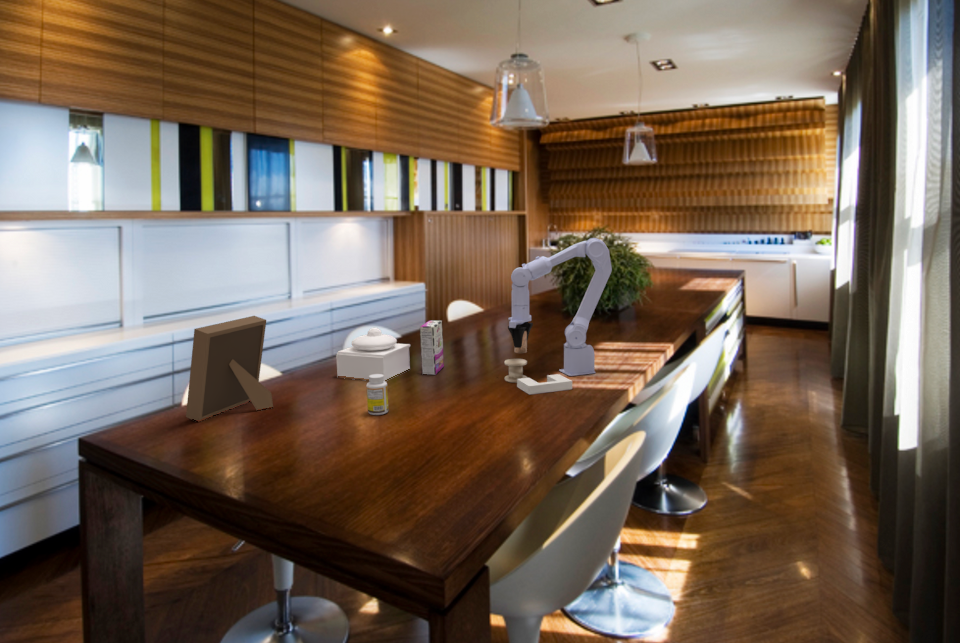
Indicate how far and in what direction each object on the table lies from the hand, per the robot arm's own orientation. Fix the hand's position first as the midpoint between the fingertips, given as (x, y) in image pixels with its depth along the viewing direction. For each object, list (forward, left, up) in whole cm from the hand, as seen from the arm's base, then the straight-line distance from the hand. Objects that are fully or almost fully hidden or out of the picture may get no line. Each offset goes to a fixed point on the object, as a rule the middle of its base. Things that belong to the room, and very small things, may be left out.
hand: (520, 346), depth 212 cm
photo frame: (+87, +7, -9) cm, 88 cm away
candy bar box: (+26, -15, -9) cm, 31 cm away
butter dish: (+44, -20, -10) cm, 50 cm away
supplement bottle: (+52, +23, -9) cm, 58 cm away
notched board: (+1, +20, -9) cm, 22 cm away
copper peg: (0, 0, -2) cm, 2 cm away
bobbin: (+5, +7, -9) cm, 13 cm away
